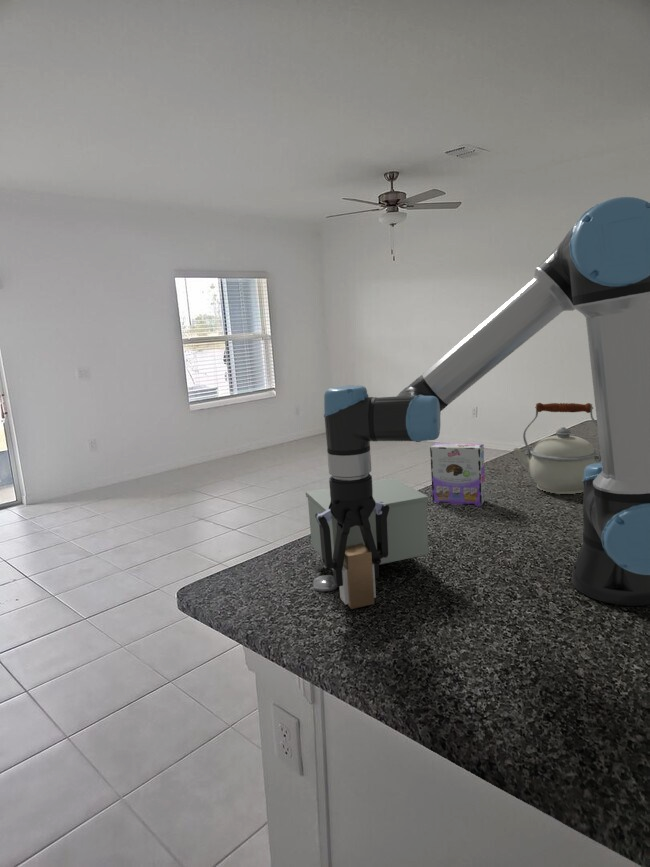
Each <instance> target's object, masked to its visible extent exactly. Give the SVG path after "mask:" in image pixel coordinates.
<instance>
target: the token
mask: <svg viewBox="0 0 650 867" xmlns="http://www.w3.org/2000/svg"><path fill="white" fill-rule="evenodd" d="M312 582H313V589H314V590H315V591H317V592H324V593H325V592H326V593H327V592H332V591H334V590H336V589H338V588H339V586H337V585H336V584H335V582H334V575H333V574H332V575H331V574H326V575H320V576H316V577H315V578H314V579H313V581H312Z"/></svg>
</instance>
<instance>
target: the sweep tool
mask: <svg viewBox="0 0 650 867" xmlns="http://www.w3.org/2000/svg"><path fill="white" fill-rule="evenodd" d="M343 566H344V567H345V568H346V569H347V579H348V594H349V604H347V605H348V607H349V608H350V610H353V609H358V608H362V607H366V606H370V605H375V598H374V588H373V571H372V554H371V551H370V550H369V549H368V548H367V547H366V546H365V545H364V544H363V543H360V544H355V545H350V546H346V550H345V556H344V562H343ZM332 575H334V572H333V571H332Z"/></svg>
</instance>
